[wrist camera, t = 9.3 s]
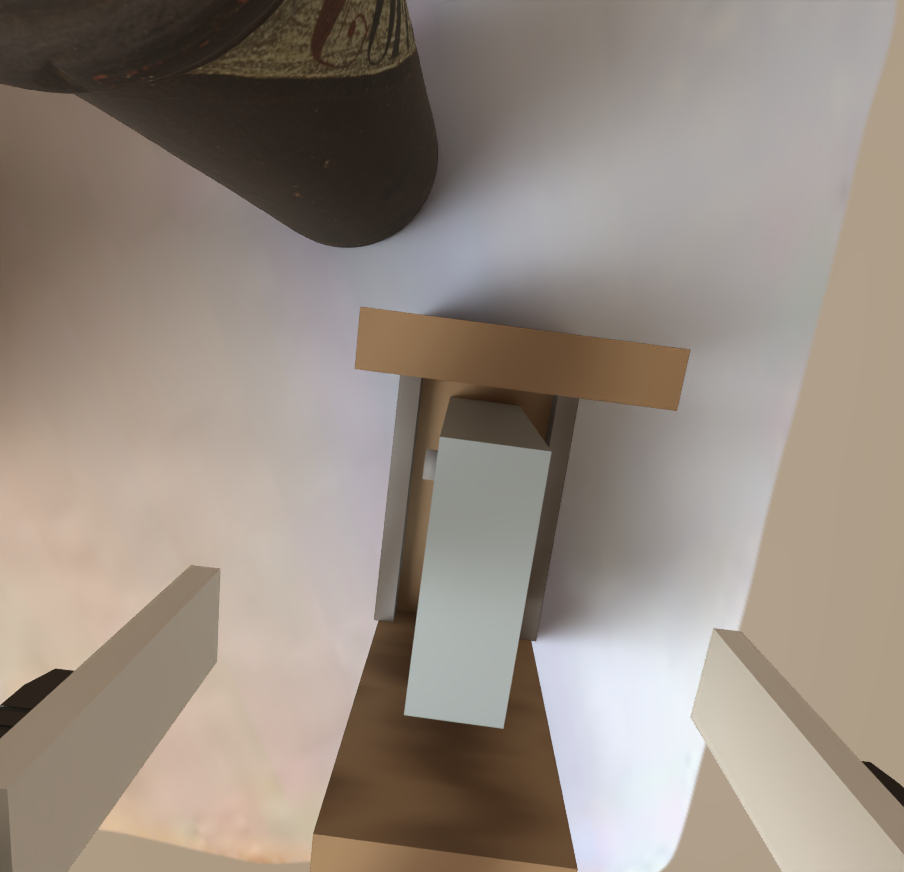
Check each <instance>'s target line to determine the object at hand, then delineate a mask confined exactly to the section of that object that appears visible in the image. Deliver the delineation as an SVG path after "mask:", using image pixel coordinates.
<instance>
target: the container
mask: <svg viewBox="0 0 904 872" xmlns="http://www.w3.org/2000/svg"><path fill="white" fill-rule="evenodd" d="M0 84H4V85H9V86H14V87H19V88H24V89H29V90H37V91H45V92H56V93H69V94H75V95H77V96H78V97H80V98H82V99H84V100H85V101H87V102H89V103H91V104H92V105H94V106H96V107H97V108H99V109H101V110H102V111H104V112H106V113H107V114H108V115H110V116H112V117H114V118H115V119H117V120H119V121H120V122H122V123H123V124H125V125H127V126H128V127H130V128H132V129H134V130H135V131H137V132H138V133H140V134H141V135H143V136H144V137H146V138H147V139H149V140H151V141H152V142H154V143H156V144H157V145H159V146H160V147H162V148H164V149H165V150H167V151H168V152H170V153H171V154H173V155H174V156H176V157H178V158H179V159H181V160H183V161H184V162H186V163H187V164H189V165H191V166H192V167H194V168H196V169H197V170H199V171H201V172H202V173H204V174H205V175H207V176H209V177H210V178H212V179H214V180H215V181H217V182H218V183H220V184H222V185H223V186H225V187H227V188H228V189H230V190H232V191H233V192H235V193H236V194H238V195H239V196H241V197H243V198H244V199H246V200H247V201H249V202H250V203H252V204H254V205H255V206H257V207H258V208H260V209H261V210H263V211H265V212H266V213H268V214H269V215H271V216H272V217H274V218H275V219H277V220H278V221H280V222H282V223H283V224H285V225H286V226H288V227H289V228H291V229H292V230H294V231H296V232H298V233H299V234H301V235H303V236H305V237H307V238H309V239H311V240H313V241H315V242H318V243H321V244H324V245H329V246H333V247H342V248H351V247H361V246H366V245H370V244H373V243H376V242H379V241H381V240H384V239H386V238H388V237H390V236H392V235H393V234H395V233H397V232H398V231H399V230H401V229H402V228H403V227H404V226H406V225H407V224H408V223H409V222H410V221H411V220H412V219H413V218H414V216H415V215H416V214H417V213H418V211H419V210H420V209H421V207H422V206H423V204H424V202H425V201H426V199H427V197H428V195H429V193H430V191H431V188H432V185H433V182H434V179H435V175H436V170H437V162H438V145H437V138H436V130H435V125H434V121H433V117H432V112H431V108H430V105H429V101H428V97H427V93H426V88H425V84H424V80H423V75H422V71H421V66H420V61H419V56H418V52H417V48H416V44H415V39H414V34H413V29H412V25H411V21H410V18H409V13H408V8H407V3H406V0H0Z"/></svg>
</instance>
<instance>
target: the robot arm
mask: <svg viewBox="0 0 904 872" xmlns="http://www.w3.org/2000/svg"><path fill="white" fill-rule="evenodd" d="M219 592H220V569H219V568H210V567H202V566H194V565H191V566H190V567H188V568H187V569H186V570H185V571H184V572H183V573H182V574H181V575H180V576H179V577H177V578H176V579H175V580H174V581H173V582H172V583H171V584H170V585H169V586H168V587H166V588H165V589H164V590H163V591H162V592H161V593H160V594H159V595H158V596H157V597H155V598H154V599H153V600H152V601H151V602H150V603H149V604H148V605H147V606H146V607H144V608H143V609H142V610H141V611H140V612H139V613H138V614H137V615H136V616H135V617H133V618H132V619H131V620H130V621H129V622H128V623H127V624H126V625H125V626H124V627H122V628H121V629H120V630H119V631H118V632H117V633H116V634H115V635H114V636H113V637H111V638H110V639H109V640H108V641H107V642H106V643H105V644H104V645H103V646H102V647H100V648H99V649H98V650H97V651H96V652H95V653H94V654H93V655H92V656H91V657H89V658H88V659H87V660H86V661H85V662H84V663H83V664H82V665H81V666H80V667H78V668H77V669H76V670H75V671H71V670H63V669H54V670H52V671H50V672H48V673H46V674H44V675H42V676H40V677H39V678H37V679H35V680H33V681H31V682H29V683H27V684H25V685H24V686H22V687H21V688H20V689H19V690H18V691H16V692H15V693H14V694H13V695H12V696H11V697H9V698H8V699H7V700H6V701H5V702H3V703H2V704H1V705H0V872H68V870H69V869H70V867H71V866H72V865H73V863H74V862H75V860H76V859H77V858H78V856H79V855H80V853H81V852H82V851H83V849H84V848H85V846H86V845H87V844H88V842H89V841H90V839H91V838H92V837H93V835H94V834H95V832H96V831H97V830H98V828H99V827H100V825H101V824H102V823H103V821H104V820H105V818H106V817H107V815H108V814H109V813H110V811H111V810H112V808H113V807H114V806H115V804H116V803H117V801H118V800H119V799H120V797H121V796H122V794H123V793H124V792H125V790H126V789H127V787H128V786H129V784H130V783H131V782H132V780H133V779H134V777H135V776H136V775H137V773H138V772H139V770H140V769H141V768H142V766H143V765H144V763H145V762H146V761H147V759H148V758H149V756H150V755H151V754H152V752H153V751H154V749H155V748H156V746H157V745H158V744H159V742H160V741H161V739H162V738H163V737H164V735H165V734H166V732H167V731H168V730H169V728H170V727H171V725H172V724H173V723H174V721H175V720H176V718H177V717H178V715H179V714H180V713H181V711H182V710H183V708H184V707H185V706H186V704H187V703H188V701H189V700H190V699H191V697H192V696H193V694H194V693H195V692H196V690H197V689H198V687H199V686H200V685H201V683H202V682H203V680H204V679H205V677H206V676H207V675H208V673H209V672H210V670H211V669H212V668H213V666H214V665H215V663H216V662H217V646H218V619H219ZM691 719H692V721H693V722H694V724H695V726H696V727H697V729H698V731H699V732H700V734H701V736H702V737H703V739H704V741H705V743H706V744H707V746H708V748H709V749H710V751H711V753H712V754H713V756H714V758H715V759H716V761H717V762H718V764H719V766H720V768H721V769H722V771H723V773H724V775H725V776H726V778H727V779H728V781H729V783H730V785H731V786H732V788H733V790H734V791H735V793H736V795H737V796H738V798H739V800H740V802H741V803H742V805H743V807H744V808H745V810H746V812H747V813H748V815H749V817H750V818H751V820H752V822H753V823H754V825H755V826H756V828H757V830H758V832H759V834H760V835H761V837H762V839H763V840H764V842H765V844H766V845H767V847H768V849H769V850H770V852H771V854H772V855H773V857H774V859H775V860H776V862H777V864H778V866H779V867H780V869H781V871H782V872H904V788H903V787H902V786H901V785H900V784H899V783H897V782H896V781H895V780H894V779H892V778H891V777H890V776H888V775H887V774H885V773H884V772H883V771H881V770H880V769H879V768H877V767H876V766H875V765H873V764H872V763H870V762H864V761H861V760H860V759H859V758H858V757H857V756H856V755H855V754H854V753H853V752H852V751H851V750H850V749H849V747H847V745H846V744H845V743H844V742H843V741H842V740H841V739H840V738H839V737H838V736H837V735H836V733H835V732H834V731H833V730H832V729H831V728H830V727H829V726H828V725H827V724H826V723H825V721H823V719H822V718H821V717H820V716H819V715H818V714H817V713H816V712H815V711H814V710H813V709H812V707H811V706H810V705H809V704H808V703H807V702H806V701H805V700H804V699H803V698H802V697H801V695H800V694H799V693H798V692H797V691H796V690H795V689H794V688H793V687H792V686H791V685H790V684H789V682H788V681H787V680H786V679H785V678H784V677H783V676H782V675H781V674H780V673H779V672H778V671H777V669H775V667H774V666H773V665H772V664H771V663H770V662H769V661H768V660H767V659H766V658H765V656H764V655H763V654H762V653H761V652H760V651H759V650H758V649H757V648H756V647H755V646H754V645H753V644H752V643H751V641H750V640H749V639H748V638H747V637H746V636H745V635H744V634H743V633H742V632H739V631H731V630H723V629H715V628H713V632H712V636H711V640H710V643H709V647H708V651H707V655H706V659H705V663H704V667H703V670H702V674H701V678H700V682H699V686H698V690H697V694H696V698H695V701H694V705H693V709H692V713H691Z"/></svg>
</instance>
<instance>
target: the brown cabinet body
mask: <svg viewBox="0 0 904 872" xmlns="http://www.w3.org/2000/svg"><path fill="white" fill-rule="evenodd" d="M689 353H690V350H689V349H681V348H674V347H666V346H658V345H651V344H643V343H635V342H628V341H620V340H612V339H605V338H597V337H589V336H581V335H574V334H566V333H558V332H551V331H543V330H535V329H528V328H520V327H512V326H505V325H497V324H489V323H482V322H474V321H466V320H459V319H451V318H443V317H435V316H428V315H420V314H412V313H405V312H397V311H389V310H382V309H374V308H366V307H360V316H359V327H358V338H357V350H356V361H355V369H360V370H368V371H375V372H383V373H391V374H398V375H400V382H399V391H398V401H397V410H396V419H395V429H394V438H393V447H392V457H391V466H390V475H389V485H388V494H387V503H386V512H385V522H384V531H383V540H382V550H381V559H380V568H379V578H378V587H377V596H376V606H375V615H374V620H379V621H378V624H377V628H376V631H375V634H374V638H373V641H372V644H371V647H370V651H369V654H368V657H367V660H366V664H365V667H364V670H363V673H362V677H361V680H360V683H359V686H358V690H357V693H356V696H355V699H354V703H353V706H352V709H351V712H350V716H349V719H348V722H347V725H346V729H345V732H344V735H343V738H342V742H341V745H340V748H339V751H338V755H337V758H336V761H335V764H334V768H333V771H332V774H331V777H330V781H329V784H328V787H327V790H326V794H325V797H324V800H323V803H322V807H321V810H320V813H319V816H318V820H317V823H316V826H315V830H314V833H313V841H312V852H311V863H310V872H577V870H578V869H577V864H576V859H575V854H574V849H573V844H572V839H571V834H570V829H569V824H568V820H567V815H566V810H565V805H564V800H563V795H562V790H561V785H560V780H559V775H558V770H557V766H556V761H555V756H554V751H553V746H552V741H551V736H550V731H549V726H548V721H547V716H546V711H545V707H544V702H543V697H542V692H541V687H540V682H539V677H538V672H537V667H536V662H535V657H534V652H533V648H532V643H531V641H536V638H537V632H538V626H539V621H540V615H541V609H542V604H543V598H544V593H545V587H546V581H547V576H548V570H549V564H550V559H551V553H552V547H553V542H554V536H555V531H556V525H557V519H558V514H559V508H560V502H561V497H562V491H563V486H564V480H565V474H566V469H567V463H568V457H569V452H570V446H571V440H572V435H573V429H574V424H575V418H576V412H577V407H578V401H579V398H582V399H590V400H597V401H605V402H613V403H620V404H628V405H636V406H643V407H651V408H659V409H666V410H674V411H677V409H678V404H679V399H680V395H681V390H682V385H683V381H684V376H685V372H686V367H687V362H688V358H689ZM450 397H457V398H465V399H472V400H479V401H487V402H494V403H502V404H509V405H517V406H521V408H522V409H523V411H524V412H525V414H526V415H527V417H528V418H529V420H530V421H531V422H532V424H533V425H534V427H535V428H536V430H537V431H538V433H539V434H540V436H541V437H542V438H543V440H544V441H545V443H546V444H547V446H548V447H549V449H550V450H551V458H550V464H549V470H548V475H547V481H546V487H545V493H544V498H543V504H542V510H541V516H540V521H539V527H538V533H537V539H536V544H535V550H534V556H533V562H532V567H531V573H530V579H529V585H528V590H527V596H526V602H525V608H524V613H523V619H522V625H521V630H520V636H519V642H518V648H517V653H516V659H515V665H514V671H513V676H512V682H511V688H510V694H509V699H508V705H507V711H506V717H505V722H504V728H503V729H502V728H495V727H488V726H480V725H473V724H466V723H458V722H451V721H444V720H436V719H429V718H421V717H414V716H407V715H404V710H405V703H406V695H407V687H408V679H409V672H410V664H411V656H412V648H413V641H414V633H415V625H416V617H417V610H418V602H419V594H420V586H421V579H422V571H423V563H424V555H425V548H426V540H427V532H428V524H429V517H430V509H431V501H432V493H433V485H434V481H433V480H426V479H423V469H424V462H425V455H426V450H427V449H432V450H438V447H439V439H440V434H441V430H442V426H443V423H444V419H445V415H446V411H447V408H448V404H449V400H450Z"/></svg>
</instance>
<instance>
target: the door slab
mask: <svg viewBox="0 0 904 872" xmlns="http://www.w3.org/2000/svg"><path fill="white" fill-rule="evenodd" d="M550 458H551V450H550V449H549V447H548V446H547V444H546V443H545V441H544V440H543V438H542V437H541V436H540V434H539V433H538V431H537V430H536V428H535V427H534V425H533V424H532V422H531V421H530V420H529V418H528V417H527V415H526V414H525V412H524V411H523V409H522V408H521V406H517V405H509V404H502V403H494V402H487V401H479V400H472V399H465V398H457V397H450V400H449V404H448V408H447V411H446V415H445V419H444V423H443V426H442V430H441V434H440V439H439V447H438V450H432V449H427V450H426V455H425V462H424V469H423V479H426V480H433V481H434V485H433V493H432V501H431V509H430V517H429V524H428V532H427V540H426V548H425V555H424V563H423V571H422V579H421V586H420V594H419V602H418V610H417V617H416V625H415V633H414V641H413V648H412V656H411V664H410V672H409V679H408V687H407V695H406V703H405V710H404V715H407V716H414V717H421V718H429V719H436V720H444V721H451V722H458V723H466V724H473V725H480V726H488V727H495V728H502V729H503V728H504V722H505V717H506V711H507V705H508V699H509V694H510V688H511V682H512V676H513V671H514V665H515V659H516V653H517V648H518V642H519V636H520V630H521V625H522V619H523V613H524V608H525V602H526V596H527V590H528V585H529V579H530V573H531V567H532V562H533V556H534V550H535V544H536V539H537V533H538V527H539V521H540V516H541V510H542V504H543V498H544V493H545V487H546V481H547V475H548V470H549V464H550Z"/></svg>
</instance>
